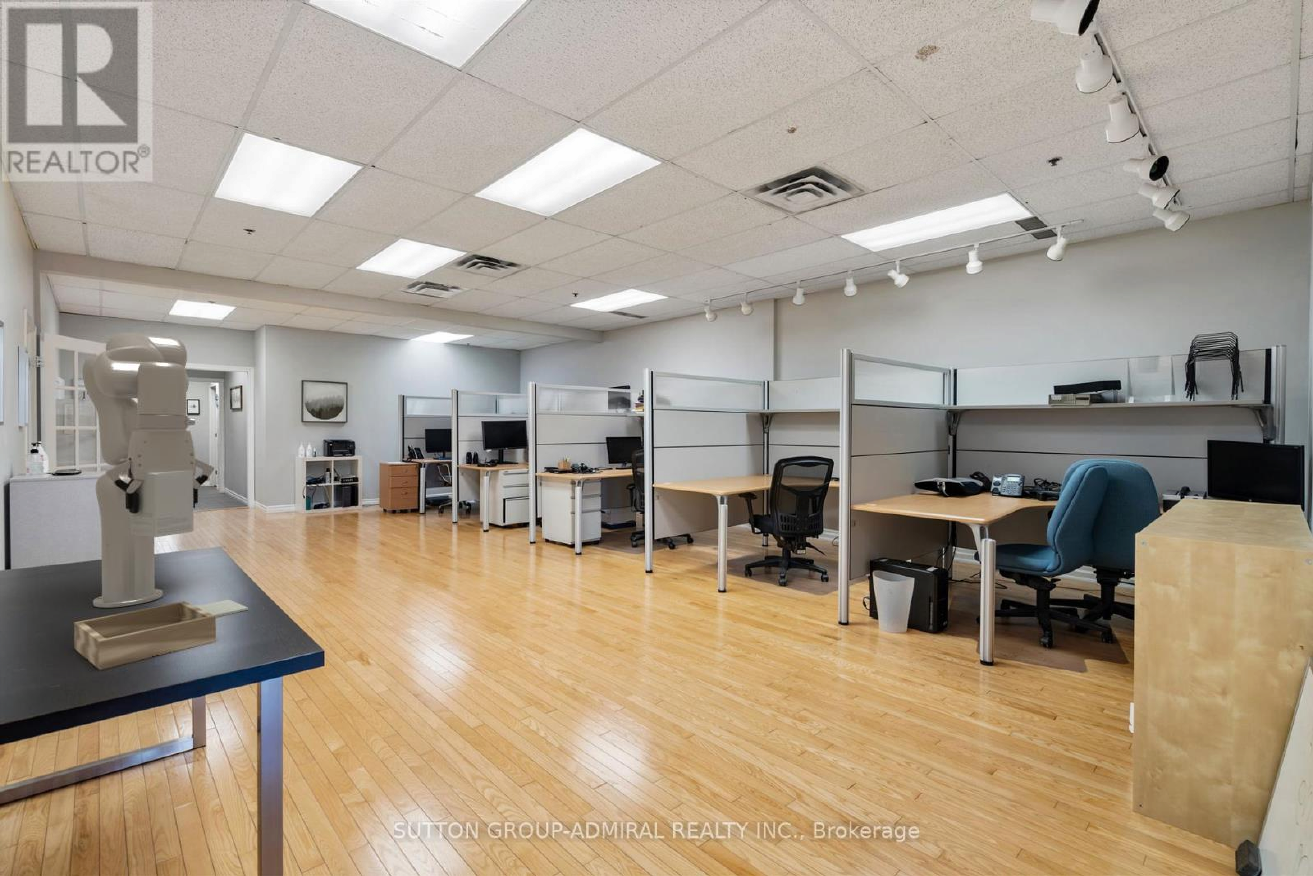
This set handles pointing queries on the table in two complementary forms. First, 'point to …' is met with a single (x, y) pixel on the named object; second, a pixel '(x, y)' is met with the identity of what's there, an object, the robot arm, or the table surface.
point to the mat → (222, 607)
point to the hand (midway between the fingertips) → (162, 509)
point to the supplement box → (164, 504)
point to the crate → (143, 634)
